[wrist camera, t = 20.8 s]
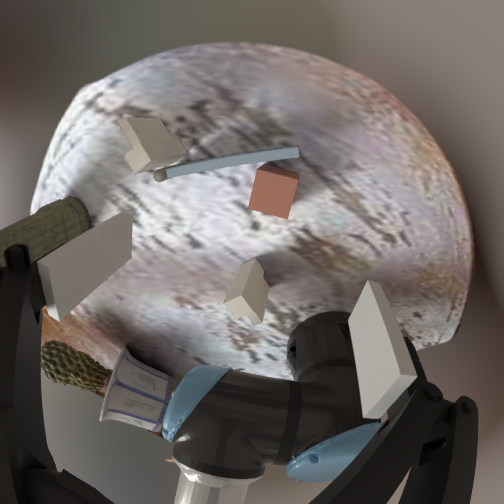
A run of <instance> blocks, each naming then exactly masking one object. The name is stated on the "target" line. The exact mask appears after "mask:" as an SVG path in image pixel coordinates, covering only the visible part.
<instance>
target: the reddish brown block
mask: <svg viewBox="0 0 504 504" xmlns="http://www.w3.org/2000/svg"><path fill="white" fill-rule="evenodd" d="M298 180H299V173H296V172H293V171H289V170H285V169H282V168H278V167H274V166H270V165H266V164H263V165H262V166H261V167H259V168H258V169H257V172H256V176H255V180H254V185H253V189H252V193H251V197H250V202H249V206H248V209H252V210H255V211H259V212H263V213H267V214H270V215H274V216H278V217H281V218H285V219H288V216H289V213H290V209H291V205H292V202H293V198H294V195H295V191H296V188H297V184H298Z"/></svg>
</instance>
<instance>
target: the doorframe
mask: <svg viewBox="0 0 504 504" xmlns="http://www.w3.org/2000/svg"><path fill="white" fill-rule="evenodd" d="M119 126H120V127H121V129H122V131H123V132H124V134H125V136H126V137H127V139H128V141H129V142H130V144H131V145H132V147H133V148H131V149H130V150H129V151H128V152H127V153H126V154H125V155H124V157H125V159H126V161H127V162H128V164H129V166H130V167H131V169H132V170H133V172H134V174H137V173H141V172H144V171H147V170H151V169H154V168H158V167H161V166H165V165H169V164H172V163H175V162H176V161H177V160H179V159H180V158H181V157H183V156H184V155H185V154H187V151H186V150H185V148H184V147H183V145H182V143H181V142H180V140H179V139H178V138H174V139H173V138H172V136H171V135H170V133H169V132H168V130H167V129H166V127H165V126H164V124H163V122H162V121H161V119H154V118H125V119H124V120H123V121H122V122H121V123H120V124H119ZM263 275H264V270H263V268H262V267H261V265H260V264H259V262H258V261H257V259H256V257H255V258H253V259H251V260H249V261H247V262H245V263H243V264H241V265H240V268H239V270H238V272H237V274H236V276H235V279H234V281H233V283H232V285H231V287H230V290H229V292H228V294H227V296H226V299H225V301H224V303H223V304H224V305H225V306H226V308H227V309H228V310H229V312H230V313H231V314H232V316H233V317H234V318H235V319H238V318H240V317H243V316H245V315H246V316H247V317H248V318H249V320H250V321H251V322H252V324H253V325H257V324H259V323H262V321H263V316H264V312H265V307H266V303H267V298H268V293H269V289H270V287H269V285H268V284H267V282H266V281H265V279H264V278H263Z"/></svg>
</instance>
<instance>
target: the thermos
mask: <svg viewBox="0 0 504 504" xmlns="http://www.w3.org/2000/svg"><path fill="white" fill-rule="evenodd" d="M90 226H91V223H90V217H89V213H88V210H87V209H86V207H85V205H84V204H83V203H82V202H81V201H80V200H79V199H78V198H76V197H71V196H69V197H67V198H65V199H63V200H61V199H59V200H57V201H55V202H52V203H50V204H47V205H45V206H43V207H41V208H40V209H39V210H38V211H37V212H36V213H35V214H33V215H31V216H29V217H26V218H24V219H22V220H20V221H18V222H16V223H14V224H12V225H10V226H8V227H6V228H4V229H2V230H0V262H1V266H3V267H6V262H5V258H4V253H3V252H4V250H5V249H6V248H8V247H9V246H12V245H15V244H25V245H27V246H28V247H29V252H30V259H31V263H32V262H34V261H35V260H37V259H38V258H40V257H41V256H43V255H45V254H46V253H49V251H51V250H53V249H55V248H56V247H57V246H59V245H61V244H63V243H66V242H69V241H71V240H73V239H74V238H76V237H78V236H79V235H81V234H83V233H85V232H86V231H88V230H90Z"/></svg>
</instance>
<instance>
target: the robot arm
mask: <svg viewBox="0 0 504 504" xmlns="http://www.w3.org/2000/svg"><path fill="white" fill-rule="evenodd" d="M132 224H133V215H131V214H128V213H124V212H121V213H119V214H117V215H116V216H114V217H112V218H110V219H108V220H106V221H104V222H103V223H101V224H99V225H97V226H95V227H93V228H92V229H90V230H88V231H86V232H85V233H83V234H81V235H79V236H78V237H76V238H74V239H73V240H71V241H69V242H66V243H63V244H61V245H59V246H57V247H56V248H55V249H53V250H51V251H49V253H46V254H45V255H43V256H41V257H40V258H38V259H37V260H35V261H34V262H32V263H31V259H30V252H29V247H28V246H27V245H25V244H15V245H12V246H9V247H8V248H6V249H5V250H4V252H3V253H4V258H5V262H6V267H3V266H1V262H0V504H115V503H113V502H112V501H110V500H109V499H108V498H106V497H105V496H104V495H103V494H101V493H100V492H99V491H98V490H96V489H95V488H94V487H92V486H90V485H89V484H87V483H85V482H84V481H82V480H80V479H79V478H77V477H75V476H74V475H72V474H71V473H69V472H67V471H66V470H65V469H63V470H62V472H57V468H56V465H55V462H54V460H53V457H52V455H51V453H50V451H49V449H48V446H47V441H46V434H45V427H44V418H43V408H42V395H41V333H42V319H43V313H42V308H43V307H44V306H45V305H46V306H47V310H48V314H49V315H50V316H51V317H53V318H54V319H56V320H58V321H61V320H62V319H63V318H64V317H65V316H66V315H67V314H69V313H70V312H71V311H72V310H73V309H74V308H75V307H76V306H77V305H78V304H79V303H80V302H81V301H83V300H84V299H85V298H86V297H87V296H88V295H89V294H90V293H91V292H93V291H94V290H95V289H96V288H97V287H98V286H99V285H100V284H102V283H103V282H104V281H105V280H106V279H107V278H108V277H110V276H111V275H112V274H113V273H114V272H115V271H117V270H118V269H119V268H120V267H121V266H123V265H124V264H125V263H126V262H127V261H129V260H130V259H131V250H132ZM287 361H288V365H289V367H290V370H291V373H292V375H293V378H294V381H290V380H284V379H278V378H272V377H266V376H261V375H255V374H250V373H245V372H240V371H236V370H233V369H232V368H220V367H215V366H210V365H198V366H196V367H194V368H193V369H191V370H190V371H189V372H188V373H187V374H186V375H185V376H184V378H183V379H182V380H181V382H180V383H179V385H178V387H177V388H176V390H175V392H174V394H173V396H172V398H171V400H170V403H169V405H168V408H167V411H166V414H165V417H164V421H163V427H164V428H163V430H162V433H163V436H164V438H165V439H167V440H168V441H169V442H172V443H174V444H175V445H174V450H173V454H172V458H173V460H174V461H175V462H176V463H177V465H178V466H179V467H180V469H181V474H180V479H179V483H178V488H177V493H176V497H175V502H174V504H243V502H244V499H245V495H246V491H247V488H248V485H249V484H250V483H252V482H254V481H256V480H258V479H260V478H261V477H263V474H264V470H265V466H266V464H275V465H283V466H286V468H285V470H286V472H287V475H288V477H289V478H291V479H293V480H299V481H300V482H325V481H331V480H334V481H333V482H332V483H331V484H330V485H328V486H327V487H326V488H325V489H324V490H323V491H322V492H321V493H320V494H319V495H318V496H317V497H316V498H314V499H313V500H312V501H311V502H310V503H309V504H386V503H387V502H388V500H389V499H390V498H391V496H392V495H393V494H394V492H395V491H396V489H397V488H398V486H399V485H400V483H401V482H402V480H403V479H404V477H405V476H406V474H407V472H408V471H409V469H410V467H411V470H410V473H409V476H408V479H407V482H406V485H405V487H404V490H403V493H402V495H401V498H400V501H399V503H398V504H470V499H471V494H472V488H473V482H474V475H475V467H476V457H477V444H478V408H477V406H476V404H475V402H474V401H473V400H472V399H470V398H469V397H467V396H461V397H460V398H459V399H458V400H457V401H456V402H455V403H453V402H450V401H447V400H445V399H444V398H443V394H442V392H441V391H440V389H439V388H438V387H437V386H436V385H434V384H432V383H430V382H427V379H426V376H425V373H424V370H423V368H422V365H421V362H420V361H419V357H418V355H417V352H416V350H415V347H414V345H413V344H412V342H411V341H410V340H409V339H408V337H404V336H402V333H401V331H400V328H399V326H398V323H397V321H396V318H395V316H394V314H393V311H392V309H391V307H390V304H389V302H388V300H387V297H386V295H385V293H384V291H383V289H382V286H381V284H380V283H378V282H374V281H370V280H367V282H366V285H365V287H364V289H363V291H362V293H361V295H360V297H359V299H358V301H357V303H356V306H355V308H354V310H353V312H352V314H351V313H347V312H327V313H322V314H318V315H315V316H313V317H311V318H309V319H307V320H305V321H304V322H302V323H301V324H300V325H298V326H297V327H296V328H295V329H294V331H293V332H292V334H291V335H290V337H289V340H288V345H287ZM386 411H387V414H388V419H387V420H386V421H385V422H384V423H383V424H382V423H381V416H382V415H383V414H384V413H385V412H386Z"/></svg>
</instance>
